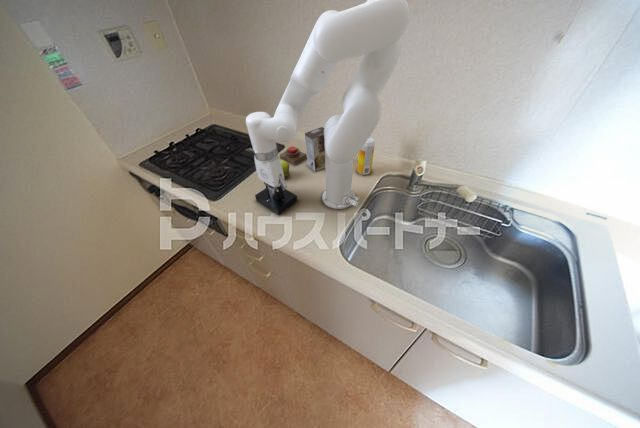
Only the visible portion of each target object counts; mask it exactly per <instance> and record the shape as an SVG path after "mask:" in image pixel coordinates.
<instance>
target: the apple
mask: <svg viewBox="0 0 640 428" xmlns="http://www.w3.org/2000/svg"><path fill="white" fill-rule="evenodd" d="M279 160H280V162H281V165H282V169H283V173H284V178H286V177H287V176H289V174H290V163H289V162H286V161H284V160H282V159H280V158H279Z"/></svg>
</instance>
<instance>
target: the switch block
mask: <svg viewBox="0 0 640 428" xmlns="http://www.w3.org/2000/svg"><path fill="white" fill-rule="evenodd" d="M279 159H281V160H284V161H286V162H288V163H289V164H291V165H292V166H297V165H298V164H300V163H302V162H303V161H305V160H306V159H307V153H304V152H302V151H301V150H300V149H299V148H298V147H296V153H289V150H288V148H287V149H285V151H283V152H282V153H280V154H279Z"/></svg>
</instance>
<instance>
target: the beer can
mask: <svg viewBox="0 0 640 428" xmlns="http://www.w3.org/2000/svg"><path fill="white" fill-rule="evenodd" d="M375 144H376V142H375V139H374V138H373V137H372V136H370V137H369V138H368V140H367V141H366V143H365V144H364V145H363V147H362V148H361V150H360V151H359V153H358V154H357V166H356V167H357V168H356V171H357V173H358V174H359V175H361V176H367V175H369V174H370V173H371V172H372V168H373V160H374V151H375Z"/></svg>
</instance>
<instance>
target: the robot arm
mask: <svg viewBox="0 0 640 428" xmlns="http://www.w3.org/2000/svg"><path fill="white" fill-rule="evenodd" d="M410 18H411V12H410V7H409V3H408V2H407V0H366V1H365V2H363V3H361V4H358V5H355V6H353V7H350V8H347V9H344V10H339V11H338V10H335V9H330V10H326V11H324V12H323V13H322V14H320V16H319V17H318V19H317V20H316V22H315V24H314V27H313V28H312V31H311V32H310V35H309V37H308V39H307V42H306V44H305V46H304V47H303V50H302V52H301V55H300V56H299V59H298V61H297V62H296V65H295V67H294V69H293V71H292V74H291V76H290V79H289V82H288V84H287V86H286V88H285V90H284V93H283V94H282V96H281V99H280V101H279V102H278V105H277V108H276V110H275V112H274V115H273V116H272V117H271V115H270V114H269V113H268V112H266V111H255V112H254V111H253V112H250V113H249V114H248V115H247V116H246V117H245V125H246V128H247V132H248V137H249V140H250V143H251V146H252V150H253V154H254V156H253V157H254V166H255V170H256V175H257V178H258V179H259V180H260V181H262V182H263V184H264V185H265V188H266V190H267V193H268V194H269V190H268V187H267V185H268V184H269V185H270V186H272V187H275V190H276V191H275V194H276V198H277V200H279V199H280V198H282V197H283V196H284V193H283V189H284V188H285V189H286V188H287V187H288V184H287V183H286V182H285V177H284V173H283V169H282V165H281V162H280V160H279V159H280V156H279V152H278V146H277V142H279V143H289V142H292V141H293V140H294V139H295V138H296V137H297V133H298V123H299V119H300V117H301V116H302V113H303V111H304V110H305V107H306V106H307V105H308V103H309V101H310V100H311V98H313V97H314V96H315V95H317V94H319V93H320V92H321V91H322V90H323V88H324V86H325V85H326V83H327V81H328V79H329V77H330V76H331V73H332V72H333V70H334V68H335V66H336V65H337V63H342V62H345V61H348V60H352V59H356V58H358V57H361V56H363V57H362V59H361V61H360V63H359V65H358V68H357V69H356V71H355V73H354V75H353V77H352V79H351V81H350V83H349V84H348V86H347V87H346V89H345V92H343V95H342V100H341V104H342V105H341V106H342V114H334V115H333V116H331V117H330V118H329V119H327V121H326V122H325V125H324V127H323V128H324V144H325V168H324V169H325V171H324V172H325V190H324V191H323V193H322V196H321V197H322V198H321V199H322V202H323V204H324V205H325V206H326V207H328V208H330V209H335V210H343V209H346V208H347V209H348V208H349V207H351V206H353V207H355V208H357V207H358V205H359V201H360V197H358V196H356V195H355V192H354V191H355V190H354V189H352V185H353V169H354V168H353V167H354V159H355V157H356V156H358V153H359V151H360V150H361V148H362V147H363V145H364V144H365V143H366V141H367V140H368V138H369V137H371V135H372V134H373V132H374V131H375V129H376V128H377V126H378V125H379V124H378V123H379V122H380V120H381V117H382V113H383V111H382V108H383V107H382V103H381V100H380V95H381V94H382V92H383V91H384V89H385V87H386V85H387V83H388V82H389V80H390V78H391V77H392V75H393V73H394V71H395V69H396V67H397V64H398V61H399V59H400V55H401V49H402V39H403V36H404V35H405V33H406V31H407V29H408V26H409V23H410ZM278 184H279V185H280V187H277V186H278Z"/></svg>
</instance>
